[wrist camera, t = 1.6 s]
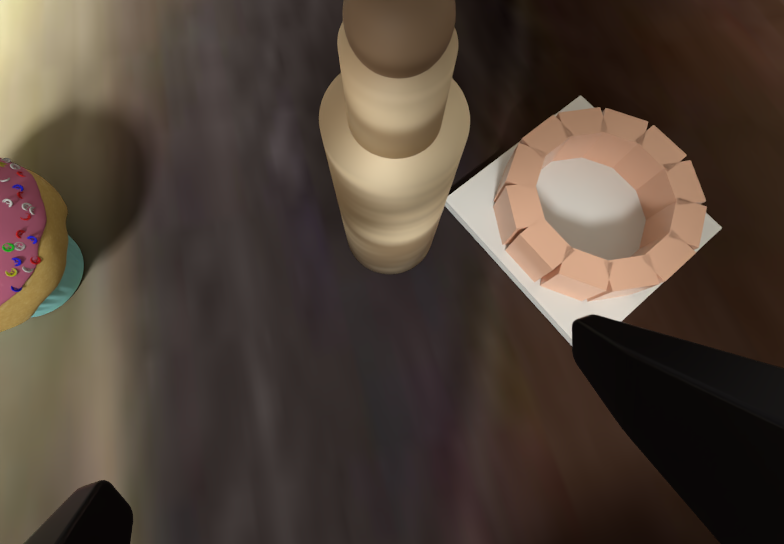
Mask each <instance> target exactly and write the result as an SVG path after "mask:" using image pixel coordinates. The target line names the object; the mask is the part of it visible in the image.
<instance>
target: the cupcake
mask: <svg viewBox="0 0 784 544" xmlns="http://www.w3.org/2000/svg"><path fill="white" fill-rule="evenodd" d="M67 214H68V209H67V206H66V204H65V202H64V201H63V199H62V197H61V196H60V194H59V193H58V192H57V191H56V190H55V188H54V187H53V186H52V185H51V184H49V183H48V182H47V181H46V180H45V179H44V178H42V177H41V176H39V175H38V174H36V173H34V172H32V171H30V170H28V169H25V168H23V167H21V166H19V165H17V164H15V163H12V162H11V160H10V159H9V158H3V159H2V158H0V332H2V331H5V330H7V329H10V328H13V327H15V326H17V325H19V324H21V323H23V322H25V321H26V320H28V319H29V318H30V317H36V316H40V315H44V314H47V313H49V312H51V311H53V310H55V309H57V308H58V307H60V306H61V305H63V304H64V303H65V302H66V301H67V300H68V299H69V298H70V297H71V296H72V295H73V294H74V292H75V291H76V289H77V288H78V286H79V284H80V281H81V279H82V275H83V270H84V261H83V256H82V253H81V250H80V248H79V247H78V245H77V244H76V243H75V241H74V240H73V239H72V238H71V237H70V236H69V235H68V233H67V229H66V218H67Z"/></svg>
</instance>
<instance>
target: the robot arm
mask: <svg viewBox="0 0 784 544" xmlns="http://www.w3.org/2000/svg"><path fill="white" fill-rule="evenodd" d="M572 352H573V357H574V360H575V362H576V364H577V365H578V367H579V368H580V369H581V371H582V372H583V374H584V375H585V377H586V378H587V380H588V381H589V382H590V384H591V385H592V387H593V388H594V390H595V391H596V392H597V394H598V395H599V397H600V398H601V400H602V401H603V402H604V404H605V405H606V407H607V408H608V410H609V411H610V412H611V414H612V415H613V417H614V418H615V419H616V421H617V422H618V424H619V425H620V426H621V428H622V429H623V430H624V431H625V433H626V434H627V435H628V436H629V437H630V439H631V440H632V441H633V442H634V443H635V445H636V446H637V447H638V448H639V449H640V450H641V452H642V453H643V454H644V455H645V456H646V457H647V458H648V460H649V461H650V462H651V463H652V464H653V465H654V467H655V468H656V469H657V470H658V471H659V472H660V474H661V475H662V476H663V477H664V478H665V479H666V481H667V482H668V483H669V484H670V485H671V486H672V488H673V489H674V490H675V491H676V492H677V493H678V495H679V496H680V497H681V498H682V499H683V500H684V501H685V503H686V504H687V505H688V506H689V507H690V508H691V510H692V511H693V512H694V513H695V514H696V515H697V517H698V518H699V519H700V520H701V521H702V522H703V524H704V525H705V526H706V527H707V528H708V529H709V531H710V532H711V533H712V534H713V535H714V536H715V538H716V539H717V540H718V541H719V542H720V543H721V544H784V368H780V367H777V366H774V365H770V364H767V363H763V362H760V361H756V360H753V359H749V358H746V357H742V356H739V355H735V354H732V353H728V352H725V351H721V350H718V349H714V348H711V347H707V346H704V345H700V344H697V343H693V342H690V341H686V340H683V339H679V338H676V337H672V336H669V335H665V334H662V333H658V332H655V331H651V330H648V329H644V328H641V327H638V326H634V325H631V324H627V323H624V322H620V321H617V320H613V319H610V318H606V317H603V316H599V315H595V314H591V315H587V316H584V317H581V318H578V319H576V320H574V321H573V323H572ZM132 525H133V513H132V510H131V507H130V506H129V504H128V503H127V502H126V501H125V499H124V498H123V497H122V496H121V495H120V494H119V492H118V491H117V490H116V489H115V488H114V486H113V485H112V484H111V483H110V482H108V481H105V480H101V481H97V482H94V483H91V484H89V485H86V486H83V487H81V488H79V489H77V490H76V491H75V492H74V493H73V494H72V495H71V496H70V497H69V498H68V499H67V500H66V501H65V502H64V503H63V504H62V505H61V506H60V507H59V508H58V509H57V510H56V511H55V512H54V513H53V514H52V515H51V516H50V517H49V518H48V519H47V520H46V521H45V522H44V523H43V524H42V525H41V526H40V527H39V528H38V529H37V530H36V531H35V532H34V533H33V534H32V535H31V536H30V537H29V538H28V539H27V540H26V541H25V542H24V543H23V544H130V541H131V533H132Z"/></svg>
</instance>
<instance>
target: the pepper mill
mask: <svg viewBox="0 0 784 544" xmlns="http://www.w3.org/2000/svg"><path fill="white" fill-rule="evenodd" d="M455 19H456V5H455V0H344V2H343V22H342V24H341V27H340V29H339V33H338V40H337V44H338V53H339V61H340V68H341V73H340V74H339V75H338V76H337V77H336V78H335V79H334V80H333V82H332V83H331V84H330V85H329V87H328V89H327V90H326V92H325V94H324V97H323V99H322V102H321V106H320V112H319V127H320V131H321V136H322V140H323V144H324V148H325V152H326V156H327V160H328V164H329V168H330V172H331V176H332V180H333V184H334V188H335V192H336V196H337V200H338V204H339V208H340V212H341V216H342V220H343V224H344V228H345V233H346V237H347V241H348V244H349V247H350V250H351V252H352V254H353V255H354V257H355V258H356V259H357V260H358V261H359V262H360V263H361V264H362V265H363V266H365V267H366V268H368V269H370V270H372V271H374V272H378V273H382V274H398V273H403V272H406V271H408V270H410V269H412V268H414V267H415V266H417V265H418V264H419V263H420V262H421V261H422V260H423V259H424V258H425V256H426V255H427V253H428V251H429V249H430V246H431V244H432V241H433V238H434V235H435V232H436V229H437V226H438V223H439V220H440V217H441V214H442V211H443V208H444V206H445V203H446V200H447V197H448V194H449V191H450V188H451V185H452V182H453V179H454V176H455V173H456V170H457V167H458V165H459V162H460V159H461V156H462V153H463V150H464V147H465V144H466V141H467V138H468V134H469V129H470V113H469V107H468V104H467V101H466V98H465V96H464V94H463V92H462V90H461V89H460V87H459V86H458V84H457V83H456V82H455V81H454V80H453V78H452V75H453V71H454V67H455V62H456V58H457V53H458V36H457V32H456V29H455V27H454V26H455Z"/></svg>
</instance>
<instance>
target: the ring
mask: <svg viewBox="0 0 784 544" xmlns="http://www.w3.org/2000/svg"><path fill="white" fill-rule="evenodd" d="M647 125H648V121H645V120H642V119H639V118H636V117H633V116H630V115H627V114H624V113H621V112H617V111H614V110H611V109H608V108H605V110H604V111H603V112H602V111H601V108H600V107H597V108H594V107H593V106H592V105H591V104H590V103H589V102H587V101H586V100H585V99H584V98H583V97H582V96H581V95H580V96H579V97H578V98H576V99H575V100H574V101H572V102H571V103H570V104H568V105H567V106H566V107H565V108H563V109H562V110H561V111H559V112H558V113H557V114H555V115H552V116H551V117H549V118H548V119H547V120H545V121H544V122H543V123H542V124H540V125H539V126H538V127H536V128H535V129H534V130H532V131H531V132H530V133H528V134H527V135H526V136H524V137H523V138H522V139H521V141H520V142H518V143H517V144H516V145H515V146H513V147H512V148H511V149H509V150H508V151H507V152H505V153H504V154H503V155H501V156H500V157H499V158H497V159H496V160H495V161H493V162H492V163H491V164H490V165H488V166H487V167H486V168H484V169H483V170H482V171H480V172H479V173H478V174H476V175H475V176H474V177H472V178H471V179H470V180H468V181H467V182H466V183H465V184H463V185H462V186H461V187H459V188H458V189H457V190H455V191H454V192H453V193H451V194H450V195H449V196H448V197H447V200H446V203H445V206H446V208H447V209H448V210H449V211H450V212H451V213H452V214H453V215H454V216H455V218H456V219H457V220H458V221H459V222H460V223H461V224H462V225H463V226H464V227H465V229H466V230H467V231H468V232H469V233H470V234H471V235H472V236H473V237H474V238H475V240H476V241H477V242H478V243H479V244H480V245H481V246H482V247H483V248H484V250H485V251H486V252H487V253H488V254H489V255H490V256H491V257H492V258H493V259H494V261H495V262H496V263H497V264H498V265H499V266H500V267H501V268H502V269H503V270H504V272H505V273H506V274H507V275H508V276H509V277H510V278H511V279H512V280H513V282H514V283H515V284H516V285H517V286H518V287H519V288H520V289H521V290H522V291H523V293H524V294H525V295H526V296H527V297H528V298H529V299H530V300H531V301H532V302H533V304H534V305H535V306H536V307H537V308H538V309H539V310H540V311H541V312H542V314H543V315H544V316H545V317H546V318H547V319H548V320H549V321H550V322H551V323H552V325H553V326H554V327H555V328H556V329H557V330H558V331H559V332H560V333H561V335H562V336H563V337H564V338H565V339H566V340H567V341H568V342H569V343H570V344H571V346H572V323H573V321H574V320H576V319H578V318H581V317H584V316H587V315H591V314H595V315H599V316H603V317H606V318H610V319H613V320H617V321H620V322H621V321H622V320H623V319H624V318H625V317H626V316H628V315H629V314H630V313H631V312H632V311H633V310H634V309H635V308H636V307H637V306H638V305H639V304H641V303H642V302H643V301H644V300H645V299H646V298H647V297H648V296H649V295H650V294H651V293H652V292H653V291H655V290H656V289H657V288H658V287H659V286H660V285H661V284H662V283H663V282H665V281H666V280H667V279H668V278H669V277H671V276H672V275H673V274H674V273H675V272H676V271H677V270H678V269H679V268H680V267H681V266H682V265H683V264H685V263H686V262H687V261H688V260H689V259H690V258H691V257H692V256H693V255H694V254H695V253H696V252H697V251H698V250H699V249H700V248H701V247H702V246H703V245H704V244H705V243H707V242H708V241H709V240H710V239H711V238H712V237H713V236H714V235H715V234H716V233H717V232H718V231H719V230H721V229H722V227H721V226H720V225H719V224H718V223H717V222H716V221H714V220H713V219H712V218H711V217H710V216H709V215H708V214H707V213H706V209H707V207H706V206H703V205H700V204H702V203H704V202H706V199H705V196H704V194H703V191H702V188H701V186H700V183H699V181H698V178H697V175H696V173H695V170H694V168H693V165H692V162H691V160H690V161H682V162H680V161H681V160H682V159H683V158H685V157H686V156H687V155H686V154H685V153H684V152H683V151H682V150H681V149H680V148H679V147H678V146H676V145H675V144H674V143H673V142H672V141H671V140H670V139H669V138H668V137H667V136H665V135H664V134H663V133H662V132H661V131H660V130H659V129H658V128H657V127H656V126H655V125H653V126H652V127H650V128H649V129H648V130H647V131H646V129H647Z"/></svg>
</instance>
